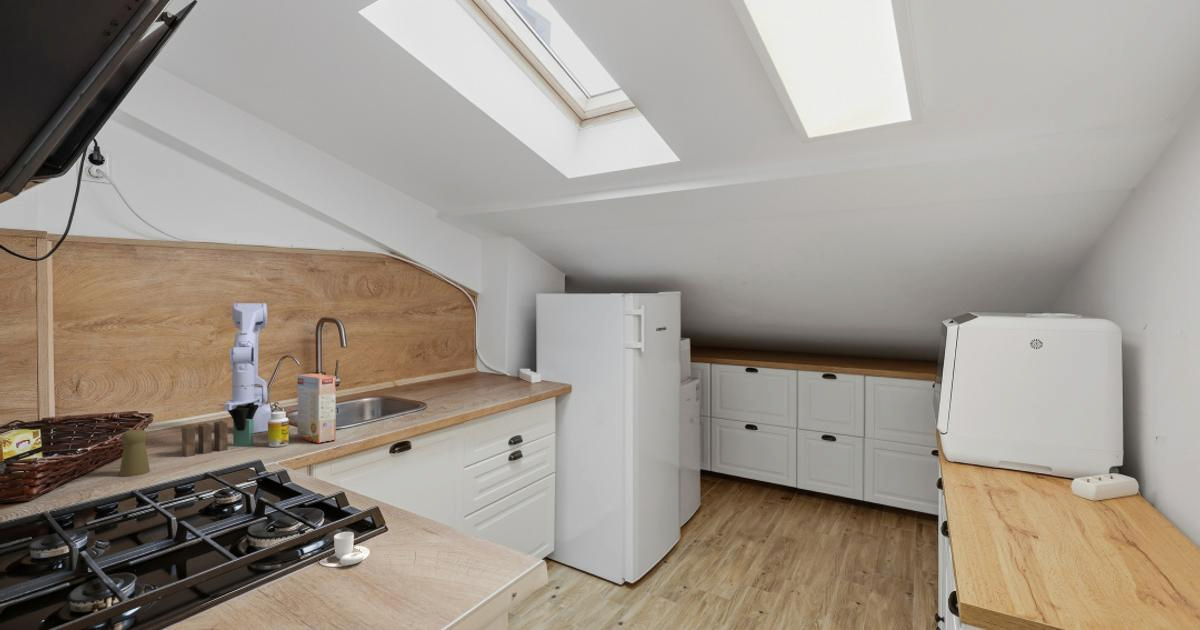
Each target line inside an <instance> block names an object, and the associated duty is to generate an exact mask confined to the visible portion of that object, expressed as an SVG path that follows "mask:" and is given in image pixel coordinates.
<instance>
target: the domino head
mask: <svg viewBox="0 0 1200 630" xmlns="http://www.w3.org/2000/svg"><path fill="white" fill-rule="evenodd" d="M232 423H233V424H232V429H233V432H232V433H233V434H232V436H233V439H232V441H233V444H232V446H233V447H252V446H254V433H253V419H246V425H245V430H243V431H237V430H236V427H235V423H234V421H233V420H232Z"/></svg>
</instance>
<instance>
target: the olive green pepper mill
mask: <svg viewBox="0 0 1200 630" xmlns="http://www.w3.org/2000/svg"><path fill="white" fill-rule="evenodd" d="M148 437H149V434H148V433H147V431H146V430H144V429H132V430H128V431H125V432H123V433H122V435H121V437H120V439H121V440H120V441H121V443H122V444H123V449H122V455H121V464H120V468H119V469H120V470H119V473H118V475H119V477H129V478H130V477H136V476H142V475H145V474H148V473H149V472H151V469H150V465H149V464H150V463H149V458H148V452H147V446H146V441H148Z"/></svg>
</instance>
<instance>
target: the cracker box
mask: <svg viewBox="0 0 1200 630" xmlns="http://www.w3.org/2000/svg"><path fill="white" fill-rule="evenodd" d="M336 378H337V377H336V376H335V375H327V374H321V373H314V372H313V373H304V374H297V438H298V439H301V440H304V439H306V440H305V441H308V440H310V441H309V442H311V441H313V442H312V443H315V442H316V444H318V443H319V444H322V443H321V442H324V441H330V440H335V441H336V417H337V415H336V413H337V411H336V398H337V397H336V396H337V395H336V392H337V390H336V389H337V388H336V387H337V386H336V384H337V379H336ZM330 442H331V441H330Z"/></svg>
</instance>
